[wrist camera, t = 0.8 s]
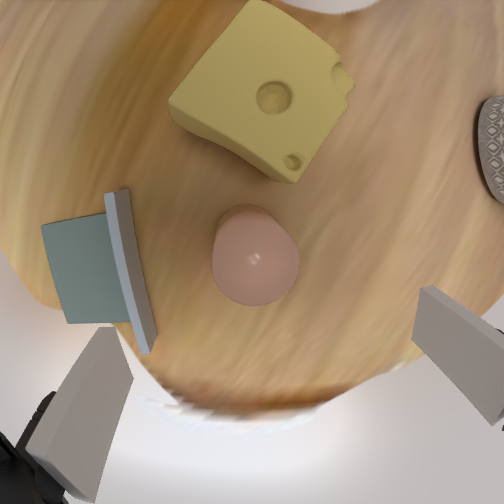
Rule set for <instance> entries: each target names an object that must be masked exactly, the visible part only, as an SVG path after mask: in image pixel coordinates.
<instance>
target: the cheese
mask: <svg viewBox="0 0 504 504" xmlns="http://www.w3.org/2000/svg"><path fill="white" fill-rule="evenodd" d="M354 86H355V81H354V80H353V79H352V78H351V77H350V76H349V74H348V73H347V72H346V71H345V69H344V66H343V63H342V60H341V58H340V56H339V55H338V54H337V52H336V51H335V50H334V49H333V48H332V47H331V46H330V45H329V44H327V43H326V42H325V41H323V40H322V39H320V38H319V37H318V36H317V35H315V34H314V33H313V32H311V31H310V30H309V29H307V28H306V27H305V26H303V25H302V24H300V23H299V22H298V21H296V20H295V19H293V18H292V17H291V16H289V15H288V14H286V13H285V12H283V11H282V10H280V9H278V8H276V7H275V6H273V5H271V4H269V3H267V2H264V1H262V0H249V1H248V2H247V3H246V4H245V5H244V6H243V8H242V9H241V10H240V11H239V13H238V14H237V15H236V16H235V18H234V19H233V20H232V22H231V23H230V24H229V25H228V27H227V28H226V29H225V30H224V32H223V33H222V34H221V35H220V36H219V37H218V39H217V40H216V41H215V42H214V43H213V44H212V45H211V46H210V48H209V49H208V50H207V51H206V52H205V53H204V55H203V56H202V57H201V58H200V59H199V61H198V62H197V63H196V64H195V66H194V67H193V68H192V69H191V71H190V72H189V73H188V75H187V76H186V77H185V78H184V80H183V81H182V82H181V83H180V85H179V86H178V87H177V89H176V90H175V91H174V93H173V94H172V95H171V97H170V98H169V100H168V107H169V113H170V116H171V118H172V119H173V120H174V121H175V122H176V123H177V124H178V125H180V126H181V127H183V128H184V129H186V130H188V131H189V132H191V133H193V134H195V135H197V136H199V137H202V138H204V139H207V140H209V141H212V142H214V143H216V144H218V145H220V146H222V147H224V148H226V149H228V150H230V151H232V152H233V153H235V154H237V155H238V156H240V157H241V158H243V159H244V160H246V161H247V162H249V163H250V164H252V165H253V166H254V167H256V168H257V169H259V170H260V171H261V172H263V173H264V174H266V175H267V176H268V177H269V178H271V179H272V180H274V181H278V182H283V183H287V184H293V183H296V182H297V181H298V180H299V178H300V177H301V175H302V174H303V172H304V171H305V169H306V168H307V166H308V165H309V163H310V162H311V160H312V159H313V157H314V156H315V154H316V153H317V151H318V149H319V148H320V147H321V145H322V144H323V142H324V141H325V139H326V138H327V136H328V135H329V133H330V132H331V130H332V129H333V127H334V126H335V124H336V123H337V121H338V120H339V119H340V117H341V116H342V115H343V113H344V112H345V111H346V109H347V107H348V105H349V104H348V100H347V99H346V97H347V95H348V94H349V93H350V91H351V90H352V89H353V88H354Z"/></svg>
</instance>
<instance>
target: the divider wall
mask: <svg viewBox="0 0 504 504" xmlns="http://www.w3.org/2000/svg"><path fill="white" fill-rule="evenodd" d="M104 200H105V207H106V214H107V220H108V226H109V231H110V237H111V242H112V247H113V252H114V257H115V262H116V266H117V270H118V275H119V279H120V283H121V287H122V291H123V295H124V299H125V302H126V306H127V310H128V313H129V317H130V320H131V324H132V327H133V330H134V333H135V337H136V340H137V343H138V346H139V349H140V352H141V354H150V353H151V350H152V347H153V345H154V342H155V339H156V336H157V329H156V326H155V322H154V318H153V314H152V310H151V306H150V302H149V298H148V294H147V290H146V285H145V281H144V276H143V271H142V267H141V262H140V257H139V251H138V246H137V240H136V235H135V229H134V223H133V216H132V209H131V202H130V195H129V189H123V190H118V191H114V192H110V193H106V194H104Z"/></svg>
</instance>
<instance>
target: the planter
mask: <svg viewBox="0 0 504 504" xmlns="http://www.w3.org/2000/svg"><path fill="white" fill-rule="evenodd" d="M478 146H479V154H480V161H481V165H482V170H483V173H484V176H485V179H486V182H487V184H488V187H489V189H490V190H491V192H492V194H493V195H494V197H495V198H496V199H497V200H498V201H499V202H501V203H503V204H504V96H495V97H491V98H489V99H488V100H487V101H486V102H485V103H484V105H483V107H482V109H481V113H480V116H479V123H478Z"/></svg>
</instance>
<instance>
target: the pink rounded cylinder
mask: <svg viewBox="0 0 504 504" xmlns="http://www.w3.org/2000/svg"><path fill="white" fill-rule="evenodd" d="M211 266H212V274H213V278H214V280H215V282H216V284H217V286H218V288H219V289H220V290H221V291H222V293H223V294H224V295H226V296H227V297H228V298H230V299H231V300H233V301H235V302H237V303H240V304H243V305H248V306H260V305H265V304H269V303H272V302H274V301H276V300H278V299H279V298H281V297H282V296H284V295H285V294H286V293H287V292H288V291H289V290H290V289H291V287H292V286H293V284H294V283H295V281H296V279H297V276H298V273H299V268H300V256H299V251H298V248H297V246H296V244H295V242H294V240H293V239H292V238H291V236H290V235H289V234H288V233H287V232H286V231H285V230H284V229H283V228H282V227H281V226H280V225H279V224H278V223H277V222H276V221H275V220H274V219H273V218H272V217H271V216H270V215H269V214H268V213H267V212H266V211H265V210H263V209H262V208H260V207H257V206H253V205H240V206H237V207H234V208H232V209H230V210H229V211H227V212H226V213H225V214H224V215H223V216H222V218H221V219H220V221H219V223H218V225H217V228H216V234H215V241H214V248H213V255H212V265H211Z"/></svg>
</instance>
